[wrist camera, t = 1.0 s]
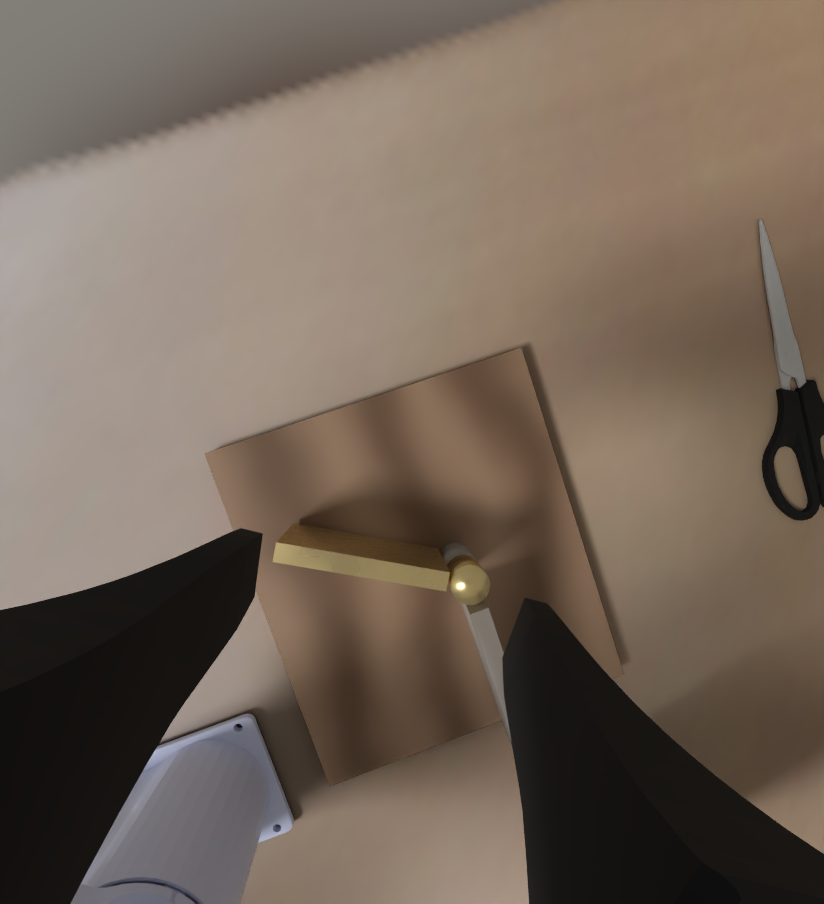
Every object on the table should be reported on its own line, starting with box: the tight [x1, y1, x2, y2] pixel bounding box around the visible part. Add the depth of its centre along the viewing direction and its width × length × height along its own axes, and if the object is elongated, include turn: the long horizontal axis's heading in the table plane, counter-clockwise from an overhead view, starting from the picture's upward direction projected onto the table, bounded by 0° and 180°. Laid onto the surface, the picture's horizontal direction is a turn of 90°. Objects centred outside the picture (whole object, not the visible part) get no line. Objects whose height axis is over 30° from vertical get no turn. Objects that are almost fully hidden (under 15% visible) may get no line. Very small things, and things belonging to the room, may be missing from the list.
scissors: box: [759, 219, 824, 520], centre depth 29 cm, size 7×1×20 cm
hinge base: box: [205, 348, 624, 786], centre depth 25 cm, size 20×22×6 cm
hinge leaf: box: [273, 523, 490, 605], centre depth 24 cm, size 2×11×4 cm, turn 79°
